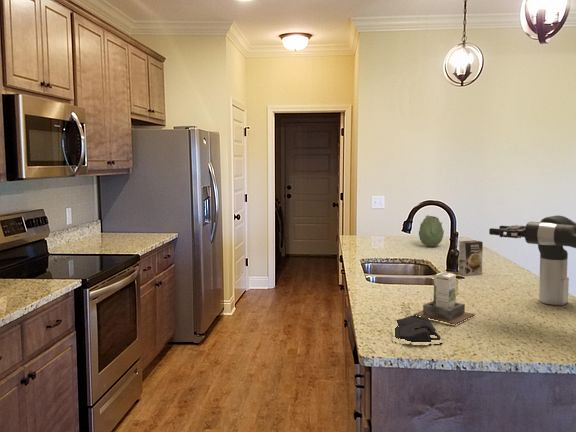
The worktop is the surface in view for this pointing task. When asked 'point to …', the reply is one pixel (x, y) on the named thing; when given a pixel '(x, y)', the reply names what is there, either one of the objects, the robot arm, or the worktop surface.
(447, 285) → the syrup box
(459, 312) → the socket board
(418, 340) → the dark slate chunk
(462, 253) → the coffee box
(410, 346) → the worktop surface
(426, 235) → the cabbage
